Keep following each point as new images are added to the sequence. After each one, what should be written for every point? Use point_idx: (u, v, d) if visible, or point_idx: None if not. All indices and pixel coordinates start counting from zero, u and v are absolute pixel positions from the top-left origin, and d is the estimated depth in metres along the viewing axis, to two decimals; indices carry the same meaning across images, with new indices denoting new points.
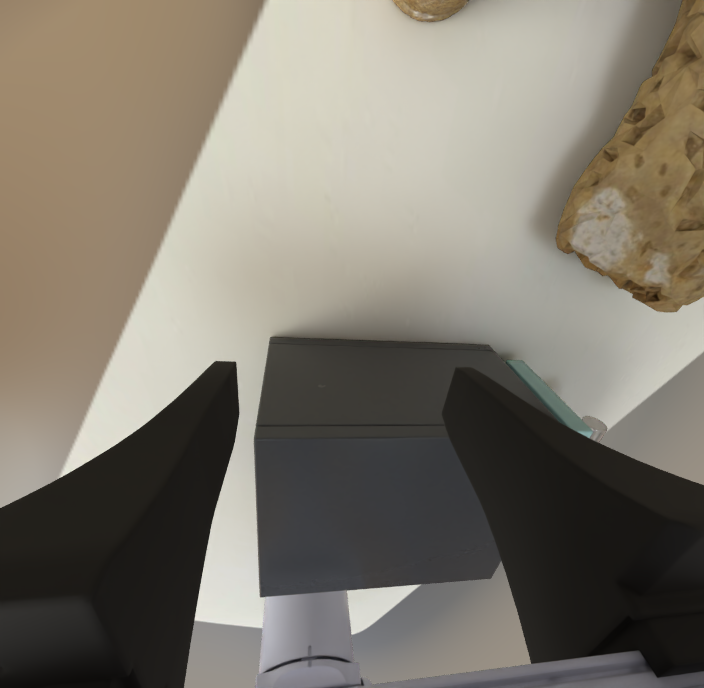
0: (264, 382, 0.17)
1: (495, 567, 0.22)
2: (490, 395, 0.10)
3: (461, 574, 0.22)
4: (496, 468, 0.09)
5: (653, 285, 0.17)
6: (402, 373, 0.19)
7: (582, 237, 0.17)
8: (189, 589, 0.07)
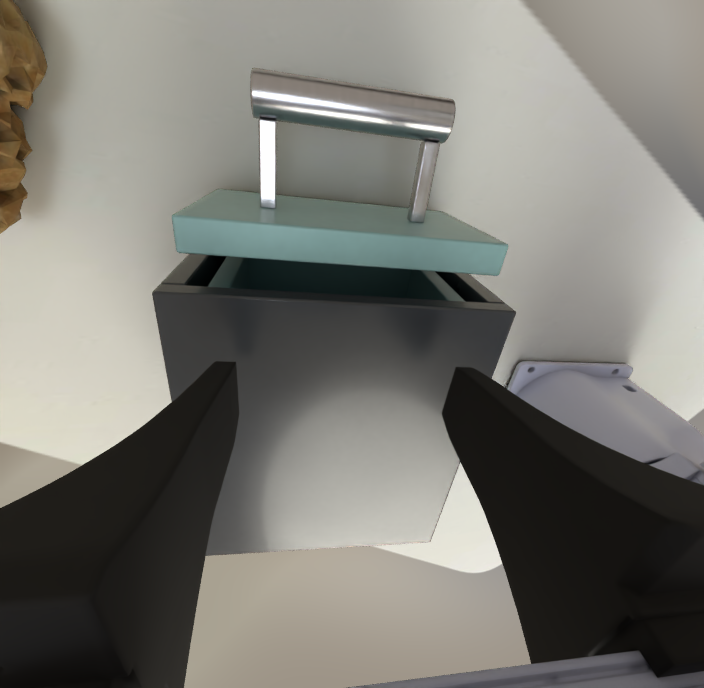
0: None
1: (481, 314, 0.13)
2: (490, 395, 0.10)
3: (475, 364, 0.14)
4: (496, 468, 0.09)
5: None
6: None
7: None
8: (189, 589, 0.07)
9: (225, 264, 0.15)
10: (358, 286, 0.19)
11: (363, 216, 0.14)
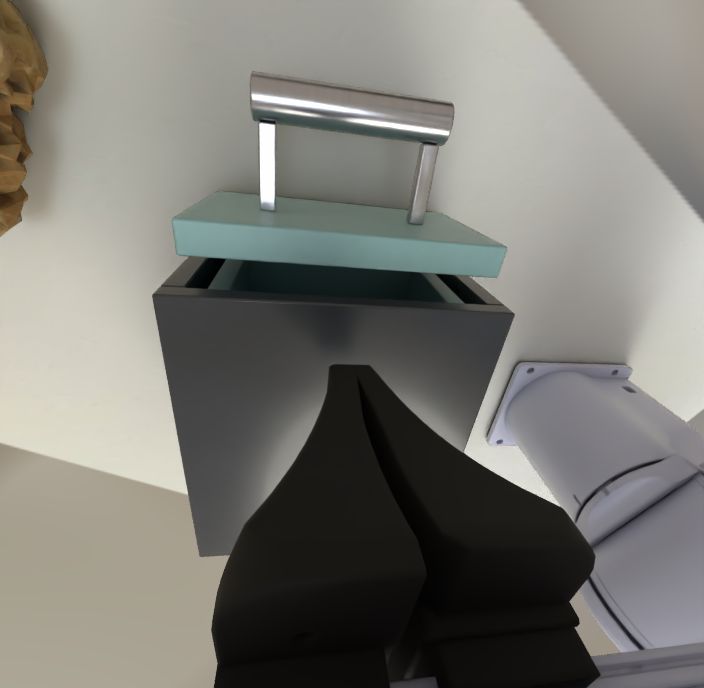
0: None
1: (480, 316, 0.13)
2: (366, 394, 0.09)
3: (474, 366, 0.14)
4: None
5: None
6: None
7: None
8: None
9: (225, 266, 0.15)
10: (358, 288, 0.19)
11: (362, 218, 0.14)
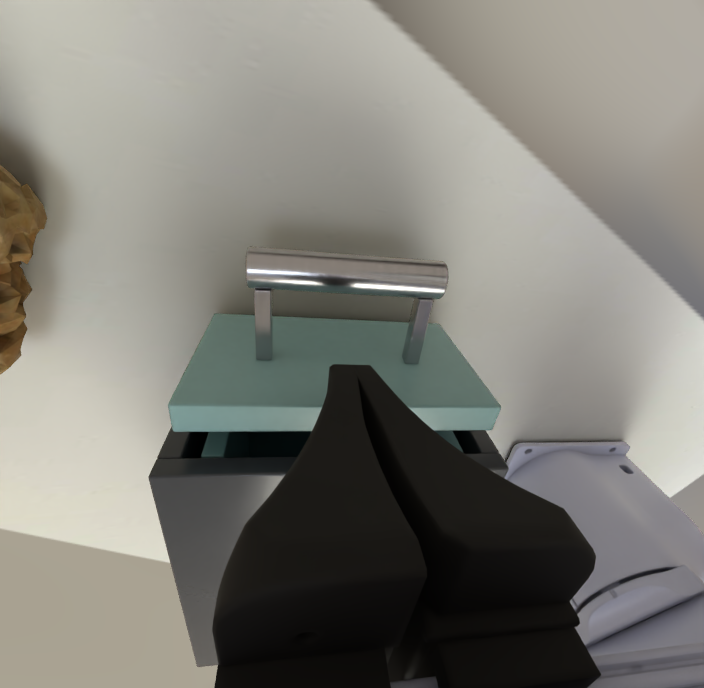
0: None
1: None
2: (366, 394, 0.09)
3: None
4: None
5: None
6: None
7: None
8: None
9: None
10: None
11: (358, 358, 0.14)
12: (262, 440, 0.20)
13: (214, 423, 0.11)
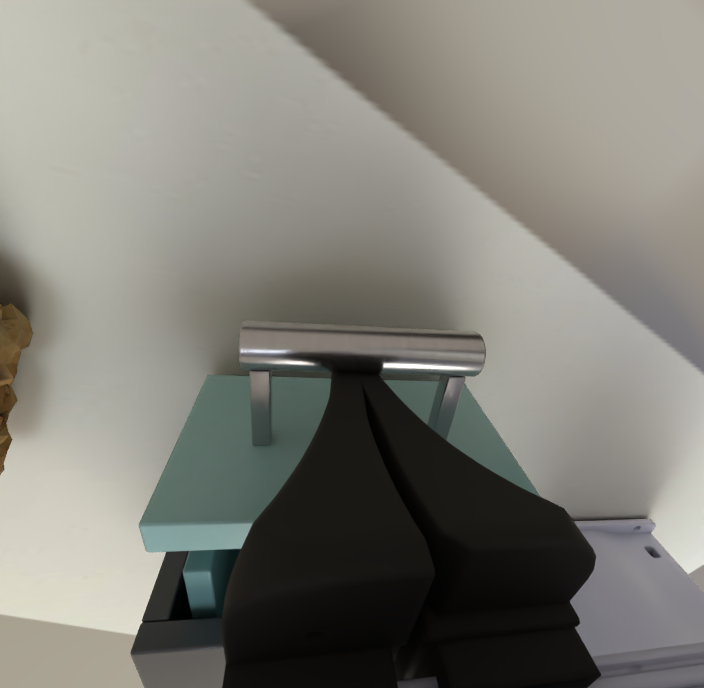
0: None
1: None
2: (366, 394, 0.09)
3: None
4: None
5: None
6: None
7: None
8: None
9: None
10: None
11: None
12: None
13: (197, 542, 0.09)
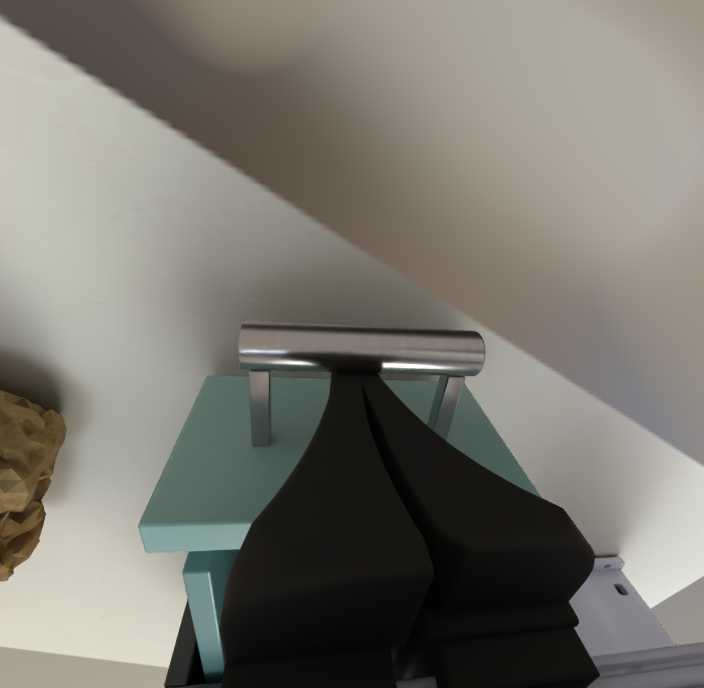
0: None
1: None
2: (366, 394, 0.09)
3: None
4: None
5: None
6: None
7: None
8: None
9: None
10: None
11: None
12: None
13: (197, 543, 0.09)
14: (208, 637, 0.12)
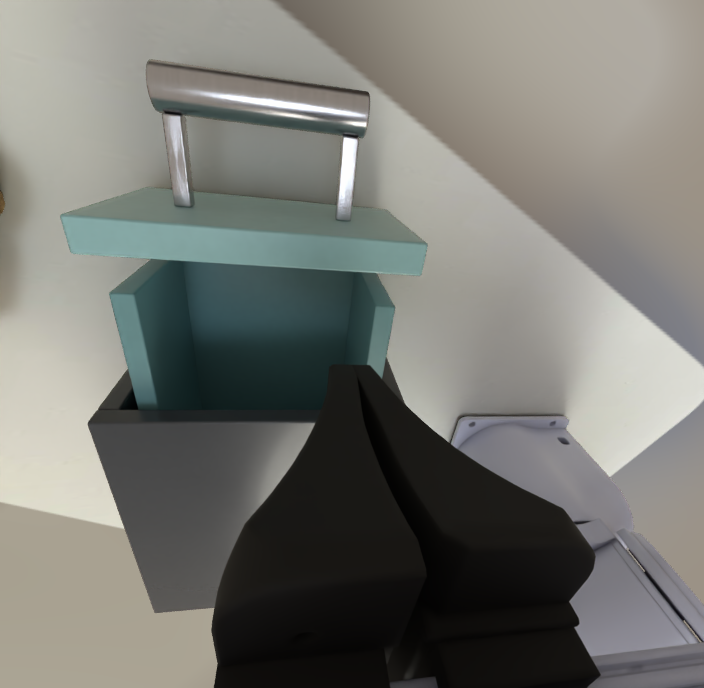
0: None
1: None
2: (366, 394, 0.09)
3: None
4: None
5: None
6: None
7: None
8: None
9: (147, 265, 0.14)
10: (301, 287, 0.18)
11: (287, 214, 0.14)
12: (207, 338, 0.19)
13: (115, 244, 0.11)
14: (143, 385, 0.14)
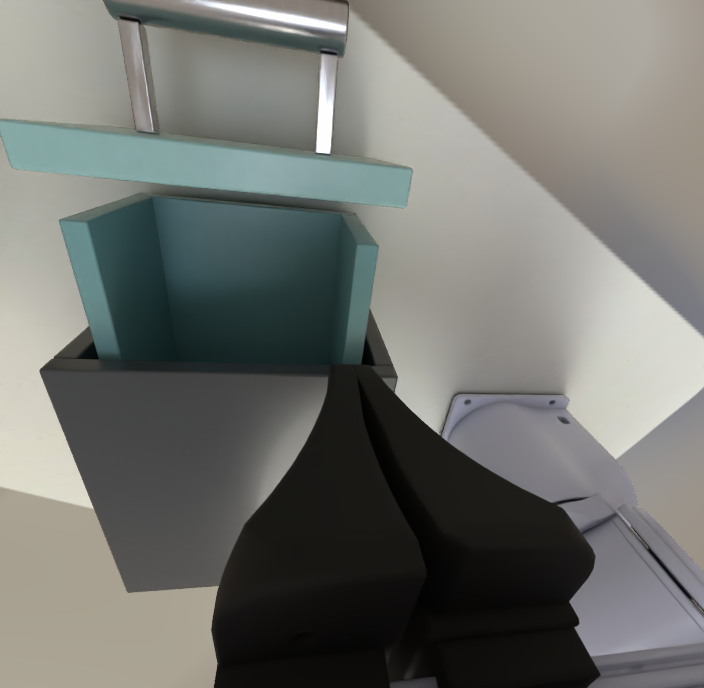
0: None
1: None
2: (366, 394, 0.09)
3: None
4: None
5: None
6: None
7: None
8: None
9: (110, 204, 0.13)
10: (283, 242, 0.17)
11: (261, 147, 0.13)
12: (184, 298, 0.18)
13: (60, 158, 0.10)
14: (103, 332, 0.12)
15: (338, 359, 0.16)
